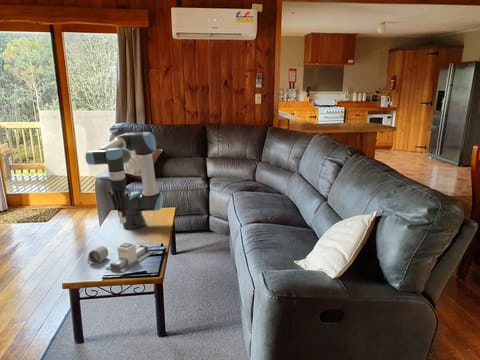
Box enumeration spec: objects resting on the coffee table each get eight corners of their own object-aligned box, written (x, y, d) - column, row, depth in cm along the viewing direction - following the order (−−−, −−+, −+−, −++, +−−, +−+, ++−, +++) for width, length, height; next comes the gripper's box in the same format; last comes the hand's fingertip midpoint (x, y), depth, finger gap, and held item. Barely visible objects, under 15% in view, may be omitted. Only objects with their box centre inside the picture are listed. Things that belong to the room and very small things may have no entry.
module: (127, 257, 190) (124, 241, 188) (137, 259, 187) (135, 243, 185) (118, 262, 185) (116, 246, 182) (129, 264, 182) (127, 247, 180)
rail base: (136, 249, 201) (136, 244, 200) (153, 252, 196) (152, 247, 195) (105, 268, 180) (104, 262, 179) (123, 272, 175) (122, 266, 174)
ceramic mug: (110, 257, 192) (108, 244, 191) (101, 264, 185) (99, 251, 183) (93, 256, 195) (91, 244, 193) (84, 263, 187) (81, 250, 185)
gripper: (102, 179, 175) (108, 223, 180) (122, 181, 169) (128, 226, 175) (113, 176, 181) (118, 219, 187) (132, 177, 176) (137, 221, 182)
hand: (123, 222), depth 181 cm, fingers closed
